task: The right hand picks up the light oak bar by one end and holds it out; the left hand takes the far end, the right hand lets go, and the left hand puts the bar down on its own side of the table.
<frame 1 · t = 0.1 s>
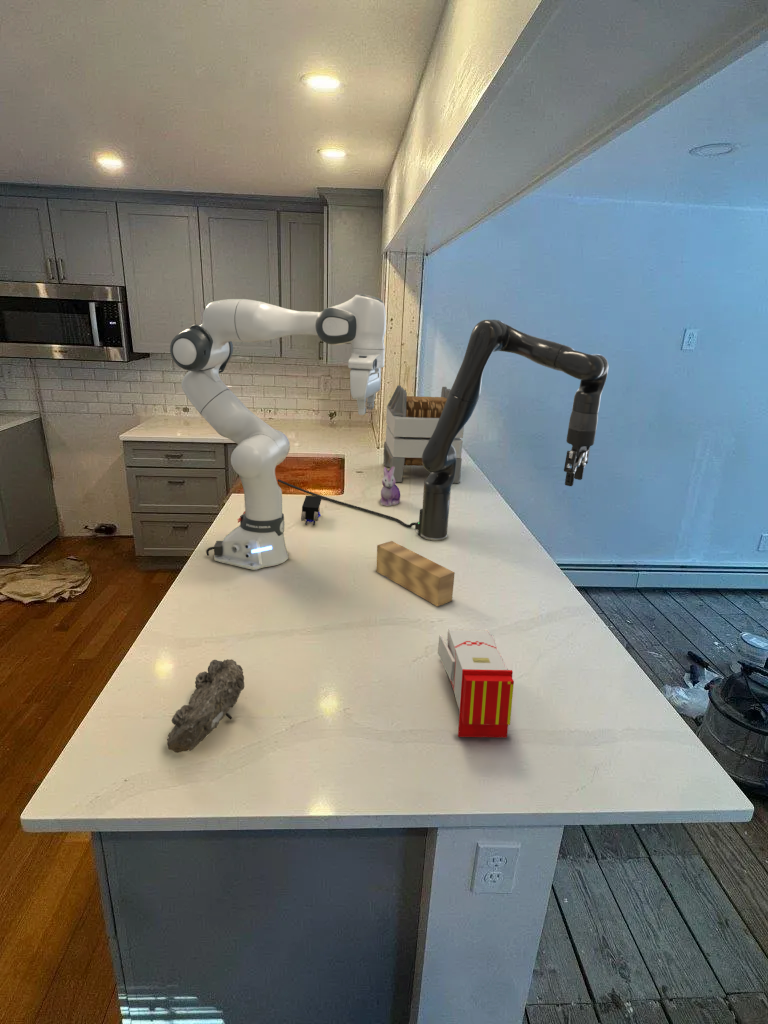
left hand: (366, 411, 155), 48 cm above the counter, tool pointing down, fingers open, 8 cm apart
right hand: (573, 482, 165), 29 cm above the counter, tool pointing down, fingers open, 8 cm apart
fossil: (212, 717, 108), on the counter
figurine: (389, 503, 231), on the counter
toy: (469, 691, 119), on the counter
grey wooden crate: (419, 473, 275), on the counter
figurine character: (311, 520, 208), on the counter
bar: (412, 585, 163), on the counter
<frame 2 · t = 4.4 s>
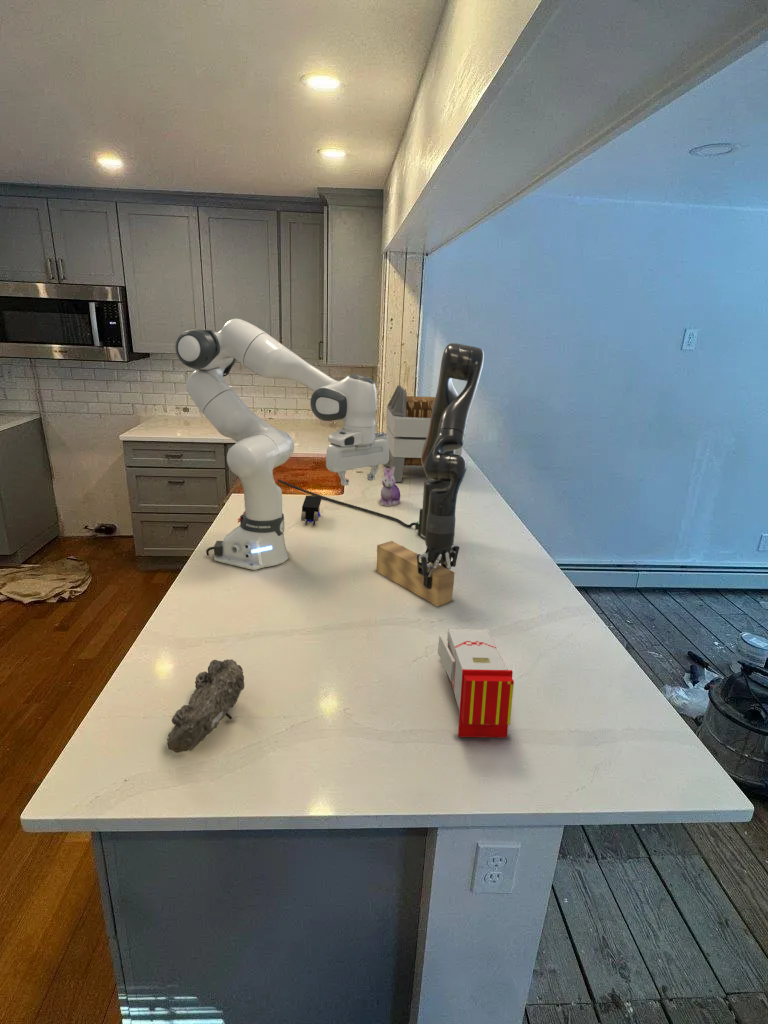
left hand: (358, 482, 162), 27 cm above the counter, tool pointing down, fingers open, 8 cm apart
right hand: (435, 584, 155), 4 cm above the counter, tool pointing down, fingers closed on bar, 5 cm apart
bar: (412, 585, 163), on the counter, touching right hand
everything else where it was.
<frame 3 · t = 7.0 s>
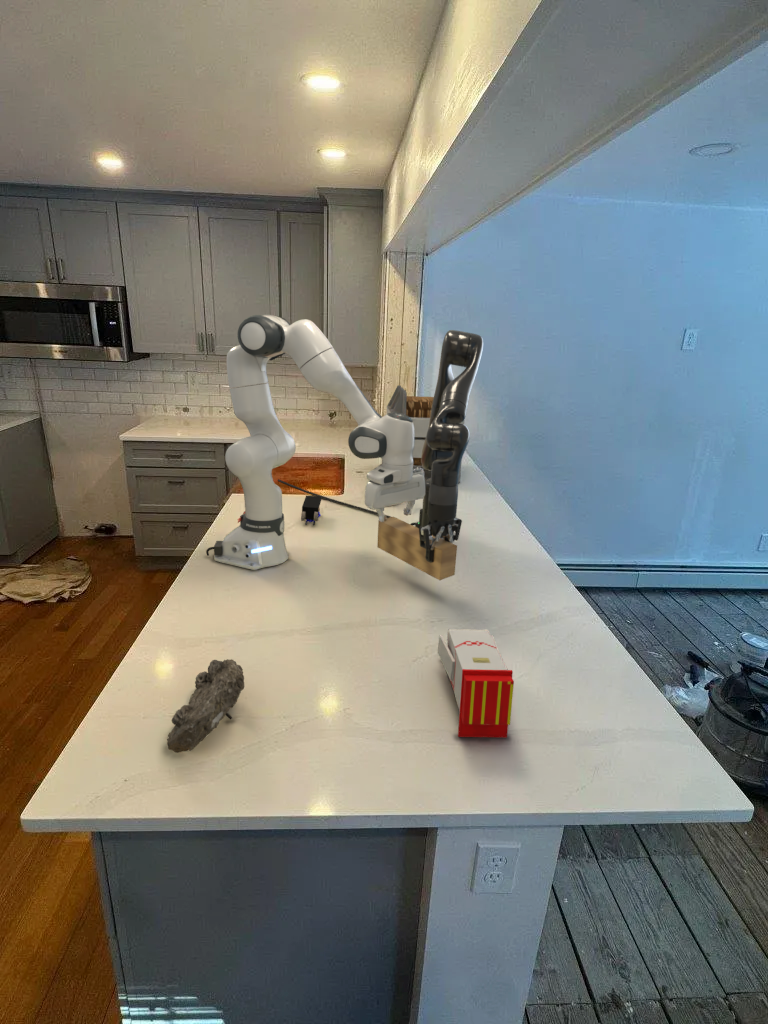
left hand: (395, 517, 164), 18 cm above the counter, tool pointing down, fingers open, 8 cm apart
right hand: (438, 558, 153), 12 cm above the counter, tool pointing down, fingers closed on bar, 5 cm apart
bar: (414, 560, 161), point 8 cm above the counter, touching right hand
everything else where it was.
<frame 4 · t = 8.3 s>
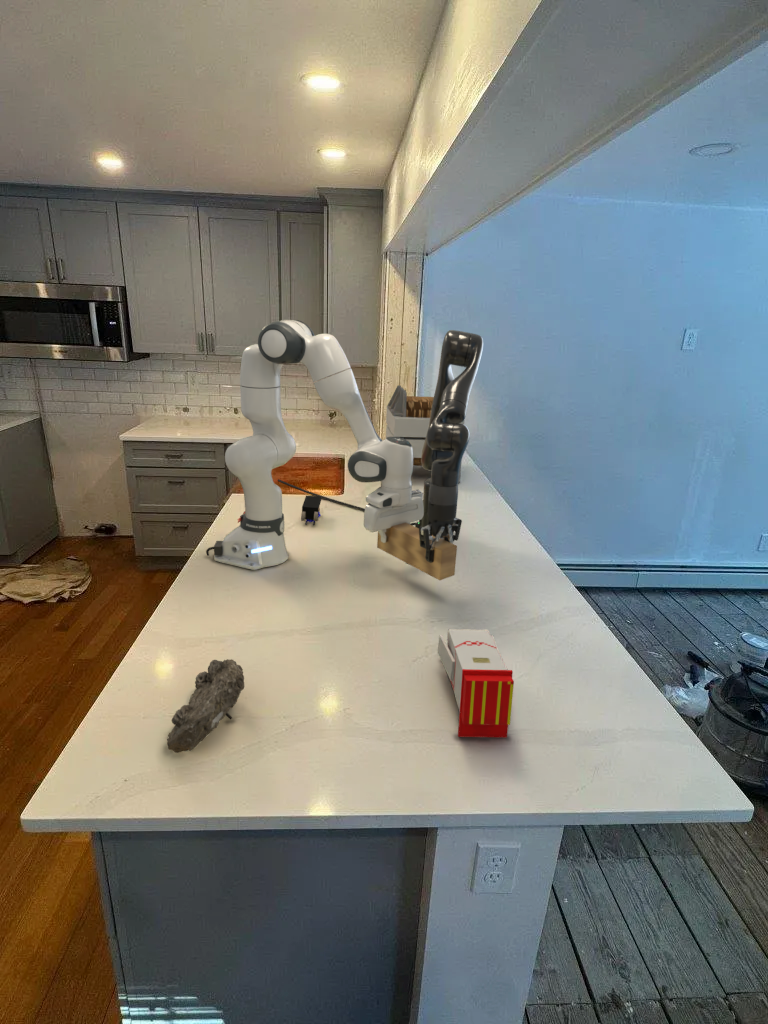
left hand: (393, 539, 166), 11 cm above the counter, tool pointing down, fingers closed on bar, 5 cm apart
right hand: (438, 558, 153), 12 cm above the counter, tool pointing down, fingers closed on bar, 5 cm apart
bar: (414, 560, 161), point 8 cm above the counter, touching right hand, left hand
everything else where it was.
when the right hand's fingers open (12 cm above the counter, at t = 9.5 s): bar stays where it is, held by the left hand.
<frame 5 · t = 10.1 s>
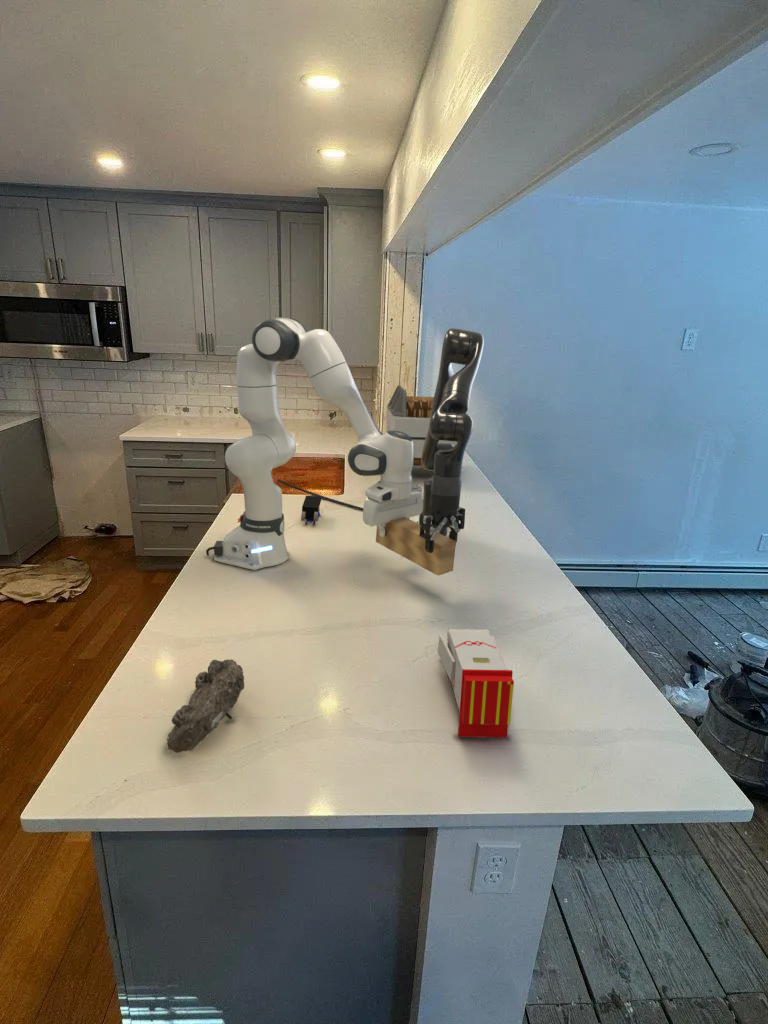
left hand: (392, 533, 165), 13 cm above the counter, tool pointing down, fingers closed on bar, 5 cm apart
right hand: (440, 548, 151), 15 cm above the counter, tool pointing down, fingers open, 8 cm apart
bar: (412, 555, 160), point 9 cm above the counter, touching left hand
everything else where it was.
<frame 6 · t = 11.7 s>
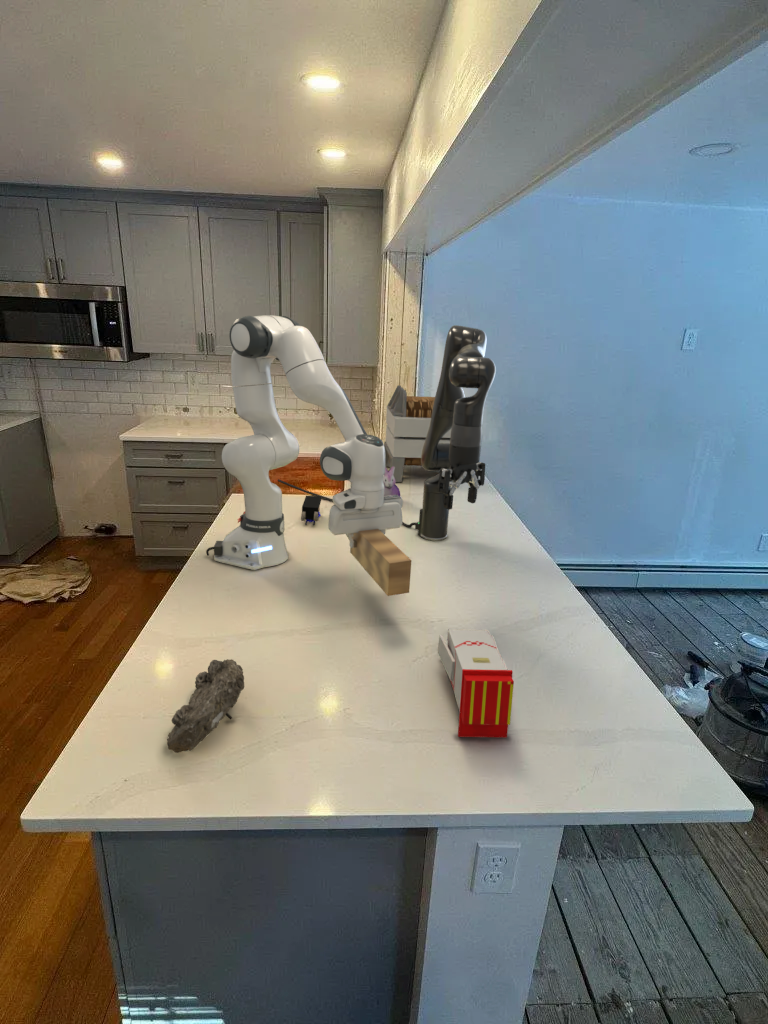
left hand: (365, 545, 153), 14 cm above the counter, tool pointing down, fingers closed on bar, 5 cm apart
right hand: (459, 505, 142), 29 cm above the counter, tool pointing down, fingers open, 8 cm apart
bar: (377, 571, 147), point 11 cm above the counter, touching left hand
everything else where it was.
when the left hand's fingers open (5 cm above the counter, at t = 15.3 s): bar stays where it is, on the counter.
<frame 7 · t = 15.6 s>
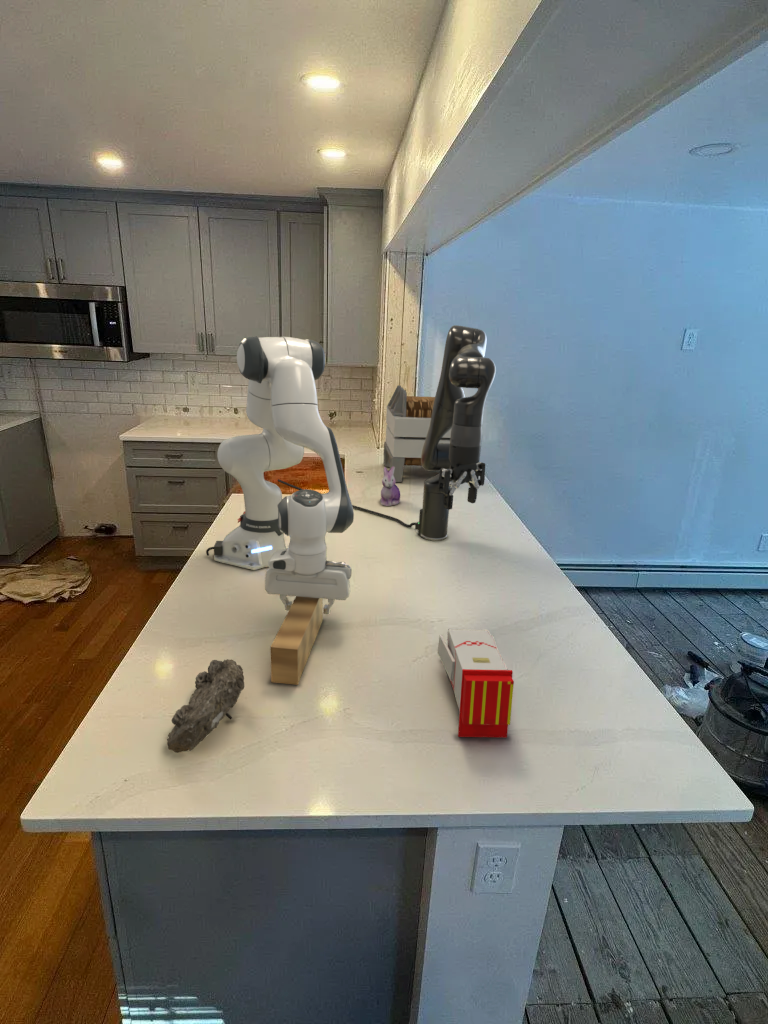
left hand: (307, 611, 137), 5 cm above the counter, tool pointing down, fingers open, 8 cm apart
right hand: (459, 505, 142), 29 cm above the counter, tool pointing down, fingers open, 8 cm apart
bar: (299, 648, 131), on the counter
everything else where it was.
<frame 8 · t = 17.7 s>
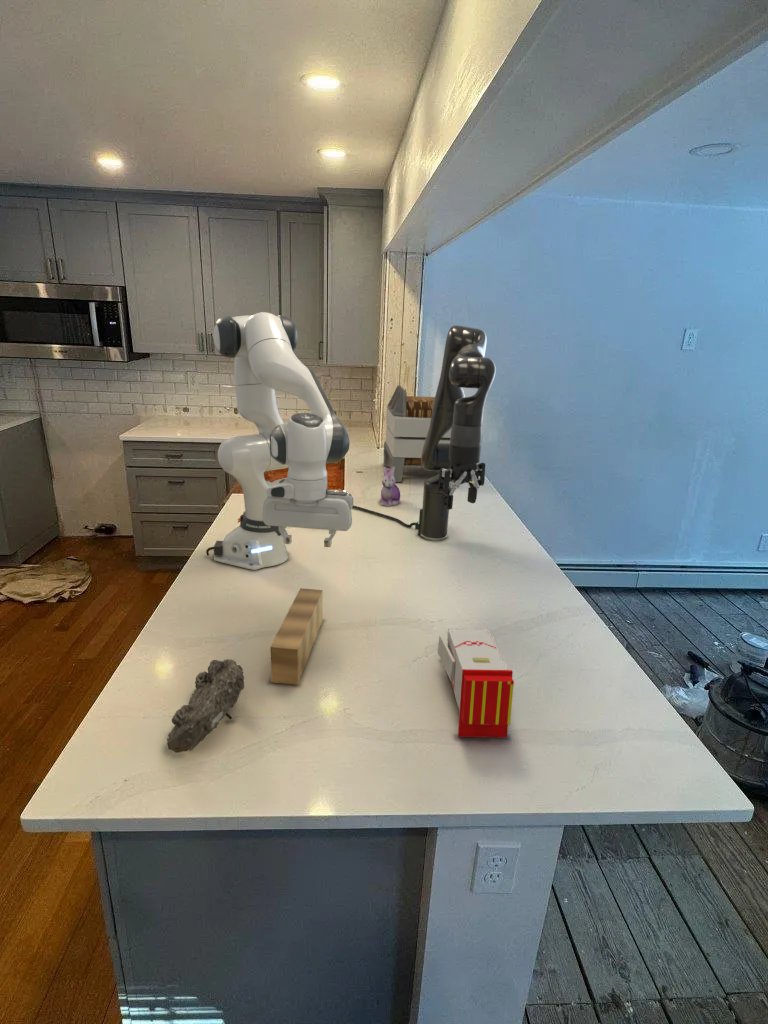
left hand: (307, 544, 131), 22 cm above the counter, tool pointing down, fingers open, 8 cm apart
right hand: (459, 505, 142), 29 cm above the counter, tool pointing down, fingers open, 8 cm apart
nothing on the counter moved.
at the end: bar inside the target area (8.7 cm from its centre), on the counter; the left hand is holding nothing; the right hand is holding nothing; bar at rest at the end (0.0 cm/s) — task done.
